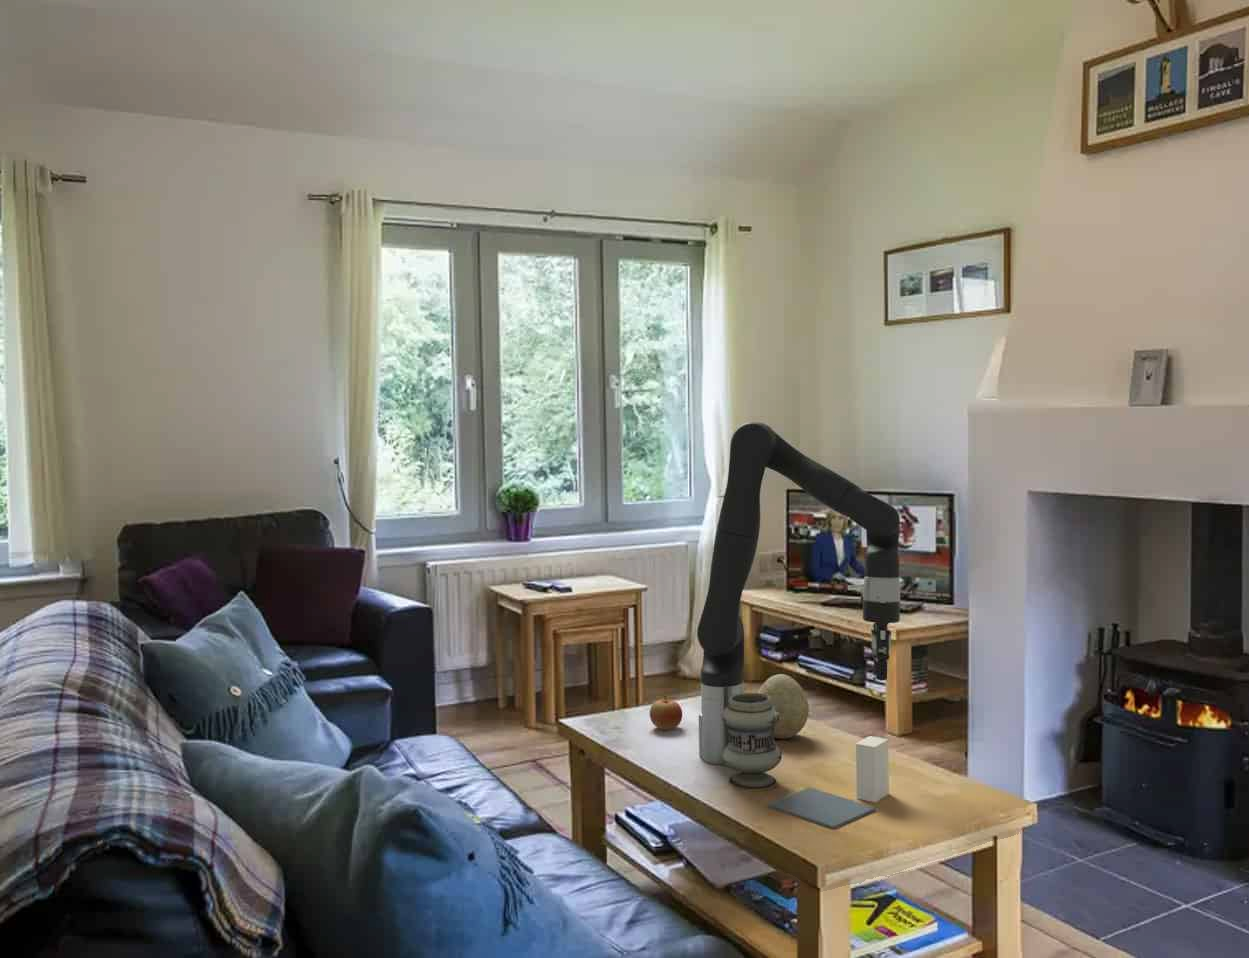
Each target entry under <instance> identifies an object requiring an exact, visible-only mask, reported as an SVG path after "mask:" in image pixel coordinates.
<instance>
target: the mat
mask: <svg viewBox="0 0 1249 958" xmlns="http://www.w3.org/2000/svg"><path fill="white" fill-rule="evenodd" d="M766 806H767V807H769V808H772V809H774V810H777V811H780V812H784V813H786V814H788V815H791V816H795V817H797V818H800V819H803V820H807V821H809V822H812V823H815V824H817V825H820V826H824V827H827V828H830V829H837V828H839V827H842V826H843V825H845V824H847V823H850V822H852V821H855V820H857V819H860V818H862V817H864V816H867V815H869V814H871V813H873V812H876V810H877V807H875V806H872V805H868V804H865V803H861V802H859V801H855V800H852V799H849V798H846V797H842V796H839V795H836V794H833V793H830V792H826V791H823V790H821V789H817V788H814V787H810V786H809V787H807V788H805V789H801V790H800V791H797V792H794V793H791V794H788V795H786V796H783V797H780V798H779V799H776V800H773V801H771V802H768V803H767V804H766Z"/></svg>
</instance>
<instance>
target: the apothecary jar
mask: <svg viewBox="0 0 1249 958" xmlns="http://www.w3.org/2000/svg"><path fill="white" fill-rule="evenodd" d="M729 702H730V703H729V706H728V707H726V708H725V710H724V711H723V713H722V719H723V721H724V723H725V724H726V725H727V726H728V741H729V742H728V746H727V747H726V748H725V750H724V752H723V759H724V761H725V763H726V764H725V765H726V766H727V767H729V768H730V769H731V770H734V771H736V772H737V773H736V774H733V775H731V777H730V778H729V779H728V783H729V785H731V786H732V787H733V788H735V789H737V790H738V789H739V790H741V791H742V790H743V791H750V792H752V791H753V792H758V791H759V792H760V791H766V790H770V789H772V788H774V787H775V786H776V785H777V780H776V778H775V777H774V776H773V775H770V774H768V773H767V772H769V771H771V770H773V769H774V768H776V767H777V766H778V765H779V764H780V763H781V761H782V757H783V756H782V751H781V750H780V748H779V747H778V746H777V745H776V741H775V740H776V738H775V737H774V725H776V724H777V722H778V721H779V712H778V710H777V709H776V708H775V707H774V706H772V703H771V699H770V696H768V695H766V694H762V693H758V692H743V693H740V694H736V695H733V696H731V697H730V701H729Z"/></svg>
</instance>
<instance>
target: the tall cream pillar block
mask: <svg viewBox="0 0 1249 958" xmlns="http://www.w3.org/2000/svg"><path fill="white" fill-rule="evenodd" d="M855 759H856V760H855V764H856V765H855V767H856V769H855V770H856V771H855V773H856V774H855V775H856V776H855V777H856V799H857V800H862V801H867V802H872V803H877V802H879V801H880V800H882V799H883V798H885V797H887V796H888V795H889V794H890V785H889V784H890V783H889V782H890V779H889V778H890V777H889V774H890V773H889V772H890V771H889V766H890V764H889V761H890V760H889V739H888V738H883V737H878V736H871V735H870V736H867V737H865V738H863V739H862V740H860V741H858V742H856V743H855Z"/></svg>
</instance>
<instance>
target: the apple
mask: <svg viewBox="0 0 1249 958" xmlns="http://www.w3.org/2000/svg"><path fill="white" fill-rule="evenodd" d="M663 698H664V699H659V700H655V701H654V702H653V703H652V704H651V705H650V709H649V717H650V721H651V723H652V724H653V726H654V727H656V728H658V729H661V730H673V729H675V728H677V727H678V726H679V725H680V724H681V722H682V719H683V710H682V707H681V706H680V704H679V703H678V702H677V701H675V700H671V699H668V698H667V696H666V695H664V696H663Z"/></svg>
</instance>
